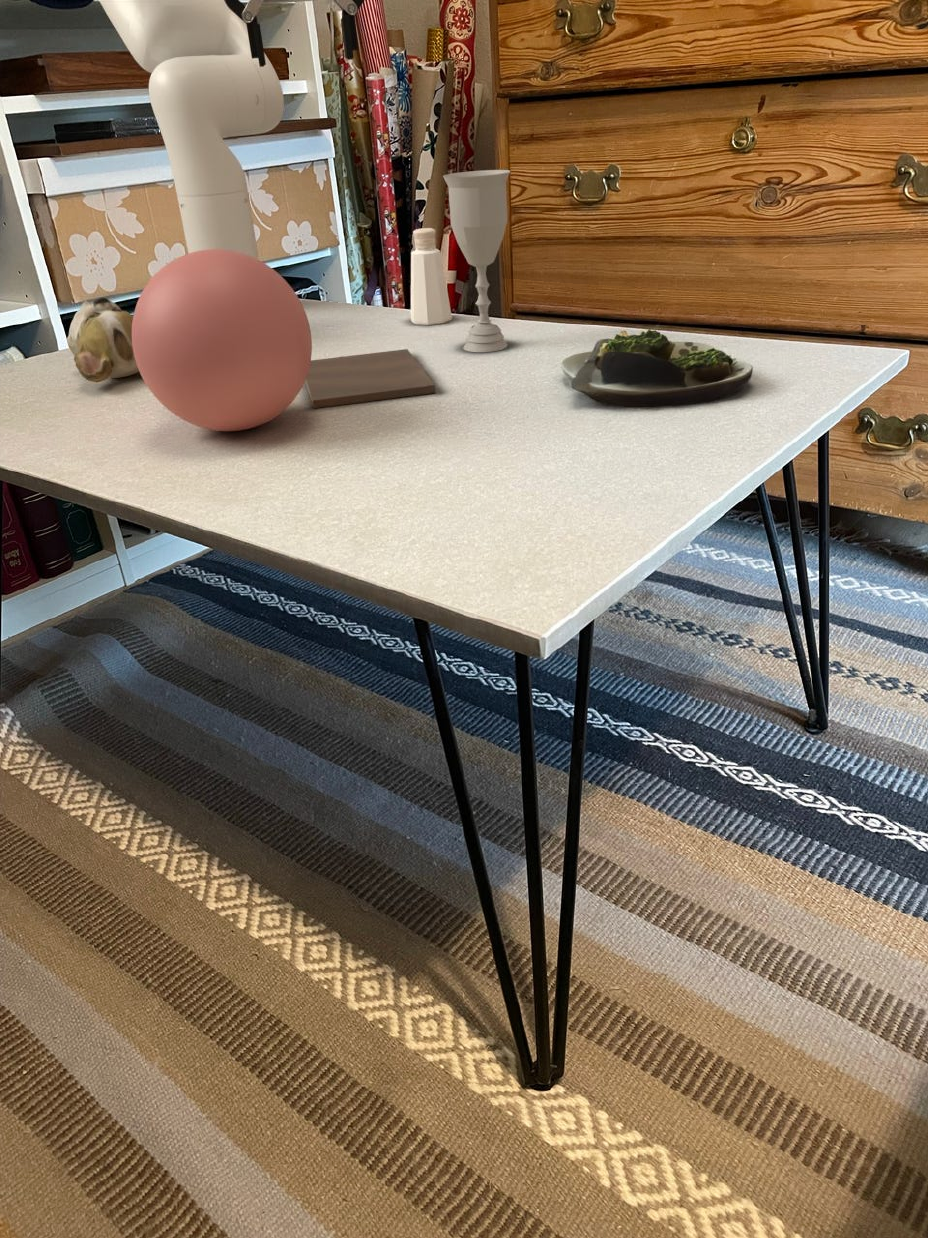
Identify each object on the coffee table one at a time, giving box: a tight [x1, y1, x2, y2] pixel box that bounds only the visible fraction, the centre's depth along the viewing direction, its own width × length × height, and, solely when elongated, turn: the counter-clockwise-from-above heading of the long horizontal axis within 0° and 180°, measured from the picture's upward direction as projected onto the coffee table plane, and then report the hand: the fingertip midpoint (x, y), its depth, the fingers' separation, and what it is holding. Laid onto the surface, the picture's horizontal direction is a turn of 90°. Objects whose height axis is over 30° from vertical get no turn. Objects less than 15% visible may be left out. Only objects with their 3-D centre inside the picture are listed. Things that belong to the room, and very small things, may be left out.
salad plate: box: [560, 328, 753, 409], centre depth 92 cm, size 19×18×5 cm
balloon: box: [132, 249, 313, 432], centre depth 86 cm, size 15×20×15 cm
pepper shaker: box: [410, 227, 453, 326], centre depth 120 cm, size 5×5×11 cm
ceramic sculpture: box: [66, 297, 140, 383], centre depth 106 cm, size 11×9×15 cm
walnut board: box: [305, 348, 436, 409], centre depth 99 cm, size 16×12×1 cm
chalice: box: [442, 169, 511, 353], centre depth 104 cm, size 7×7×18 cm
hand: (306, 62), depth 105 cm, fingers open, 9 cm apart
